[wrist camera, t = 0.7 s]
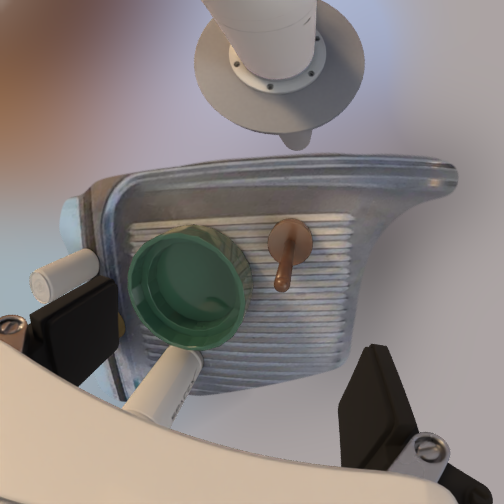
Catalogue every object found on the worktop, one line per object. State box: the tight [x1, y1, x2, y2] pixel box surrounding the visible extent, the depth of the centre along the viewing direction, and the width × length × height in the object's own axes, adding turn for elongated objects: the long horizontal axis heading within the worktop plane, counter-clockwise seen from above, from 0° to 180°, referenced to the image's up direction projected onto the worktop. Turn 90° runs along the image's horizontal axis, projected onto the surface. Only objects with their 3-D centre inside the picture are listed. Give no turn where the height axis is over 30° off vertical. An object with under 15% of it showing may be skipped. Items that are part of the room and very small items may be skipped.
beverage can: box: [30, 249, 99, 304], centre depth 37 cm, size 5×5×12 cm
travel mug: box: [122, 345, 204, 428], centre depth 34 cm, size 6×7×20 cm
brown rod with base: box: [268, 219, 313, 292], centre depth 29 cm, size 5×5×16 cm
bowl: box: [128, 224, 253, 351], centre depth 37 cm, size 15×15×6 cm
